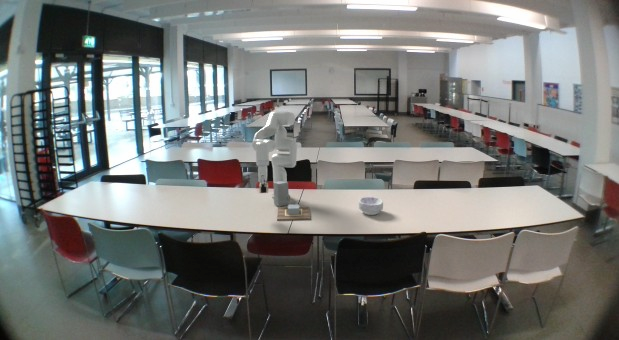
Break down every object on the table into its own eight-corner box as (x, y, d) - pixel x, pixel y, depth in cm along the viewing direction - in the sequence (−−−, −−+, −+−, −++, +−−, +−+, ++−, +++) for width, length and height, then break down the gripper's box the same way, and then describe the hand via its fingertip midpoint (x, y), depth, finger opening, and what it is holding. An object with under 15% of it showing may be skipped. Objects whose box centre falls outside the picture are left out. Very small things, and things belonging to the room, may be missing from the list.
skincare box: (278, 207, 232) (278, 184, 228) (273, 204, 237) (272, 181, 233) (289, 204, 236) (289, 182, 232) (283, 201, 242) (283, 179, 238)
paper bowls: (364, 218, 212) (364, 205, 210) (354, 209, 227) (355, 198, 225) (387, 215, 216) (387, 203, 214) (376, 207, 231) (376, 195, 229)
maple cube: (260, 190, 217) (259, 182, 215) (268, 190, 217) (268, 182, 216) (259, 193, 212) (259, 185, 210) (267, 192, 212) (267, 185, 211)
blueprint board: (278, 208, 229) (277, 201, 228) (308, 207, 230) (308, 200, 229) (277, 220, 210) (276, 212, 208) (310, 219, 211) (310, 211, 209)
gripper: (257, 159, 217) (258, 187, 222) (255, 166, 201) (256, 195, 206) (269, 158, 218) (270, 186, 223) (268, 165, 201) (269, 195, 206)
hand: (263, 190), depth 214 cm, fingers closed on maple cube, 4 cm apart
